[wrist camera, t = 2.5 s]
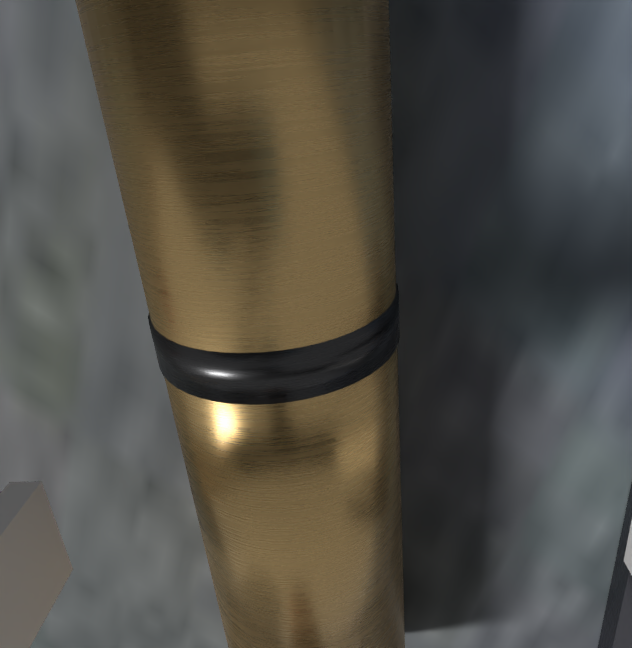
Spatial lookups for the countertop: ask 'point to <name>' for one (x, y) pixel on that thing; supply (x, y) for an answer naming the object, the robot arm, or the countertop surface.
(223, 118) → the tube
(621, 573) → the dark grey pronged rack
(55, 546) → the robot arm
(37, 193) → the countertop surface
